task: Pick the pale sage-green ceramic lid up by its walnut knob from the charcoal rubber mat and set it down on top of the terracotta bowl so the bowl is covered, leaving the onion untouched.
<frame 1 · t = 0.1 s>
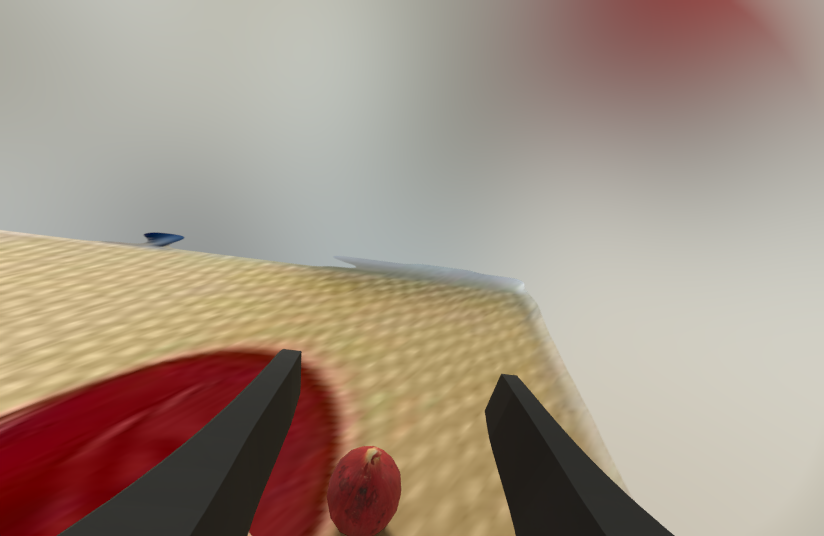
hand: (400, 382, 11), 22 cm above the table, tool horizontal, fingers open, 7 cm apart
onion: (359, 517, 25), on the table
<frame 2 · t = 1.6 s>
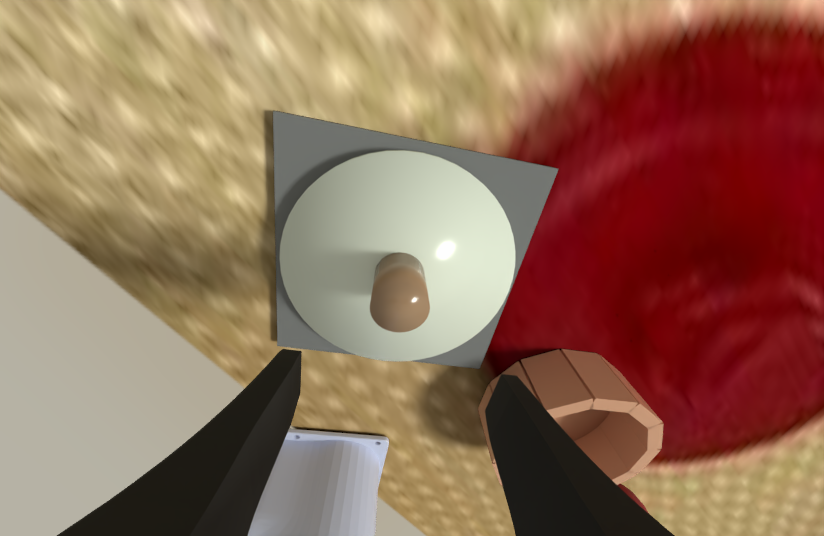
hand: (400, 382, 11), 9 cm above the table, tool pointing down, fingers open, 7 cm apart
mat: (399, 265, 19), on the table
lid: (399, 268, 19), resting on mat
bowl: (549, 403, 26), on the table
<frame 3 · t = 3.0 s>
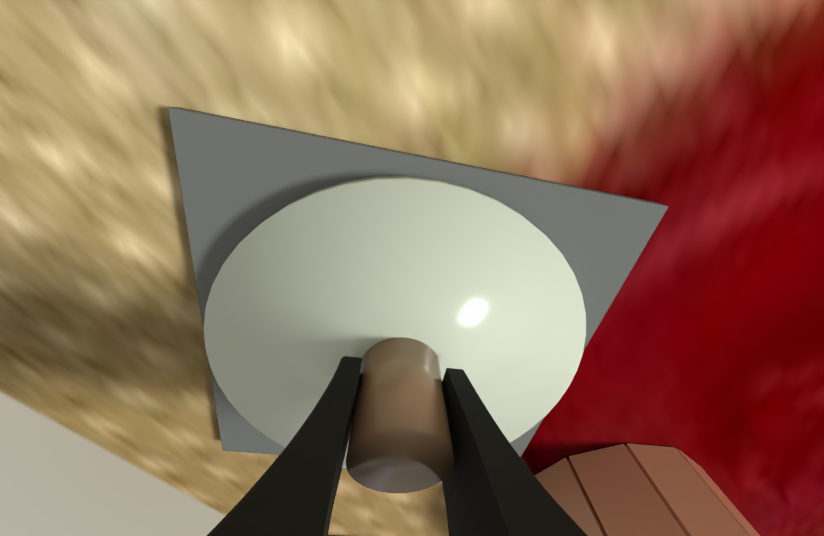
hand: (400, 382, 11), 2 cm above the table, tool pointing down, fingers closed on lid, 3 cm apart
mat: (400, 344, 13), on the table
lid: (400, 353, 12), resting on mat, touching gripper
bowl: (600, 502, 19), on the table
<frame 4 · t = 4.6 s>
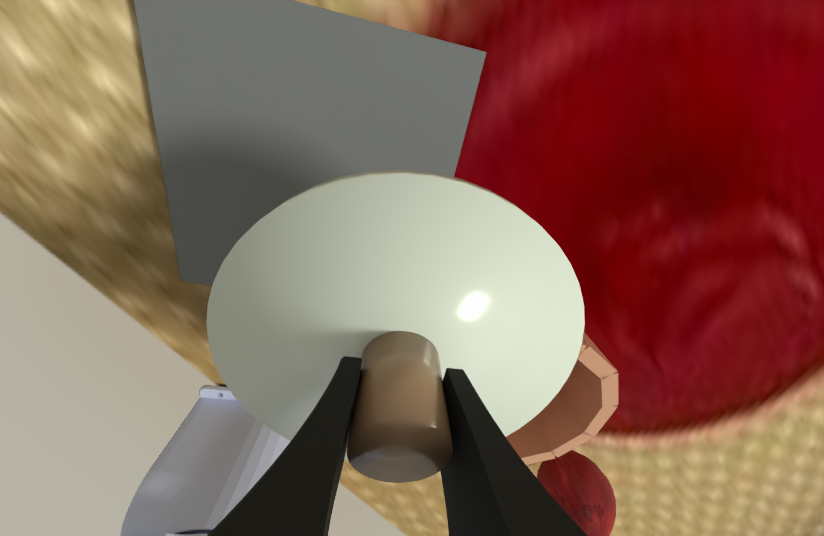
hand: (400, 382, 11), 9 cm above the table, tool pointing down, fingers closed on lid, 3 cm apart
onion: (553, 446, 29), on the table
mat: (313, 181, 16), on the table
lid: (400, 346, 12), point 8 cm above the table, touching gripper
bowl: (501, 361, 23), on the table
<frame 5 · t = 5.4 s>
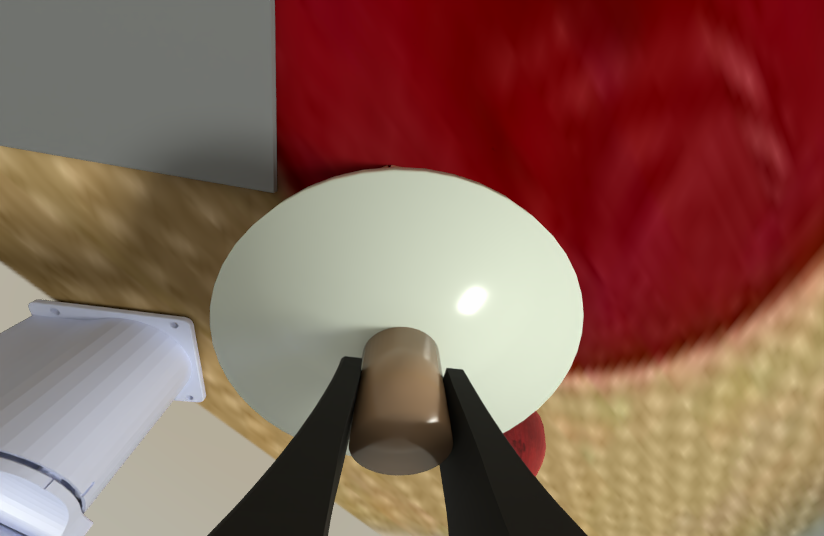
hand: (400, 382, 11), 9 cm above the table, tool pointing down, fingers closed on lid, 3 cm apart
onion: (486, 387, 25), on the table
lid: (400, 342, 12), point 7 cm above the table, touching gripper
when the fingers open (7 cm above the table, at t = 6.1 s): lid stays where it is, resting on bowl.
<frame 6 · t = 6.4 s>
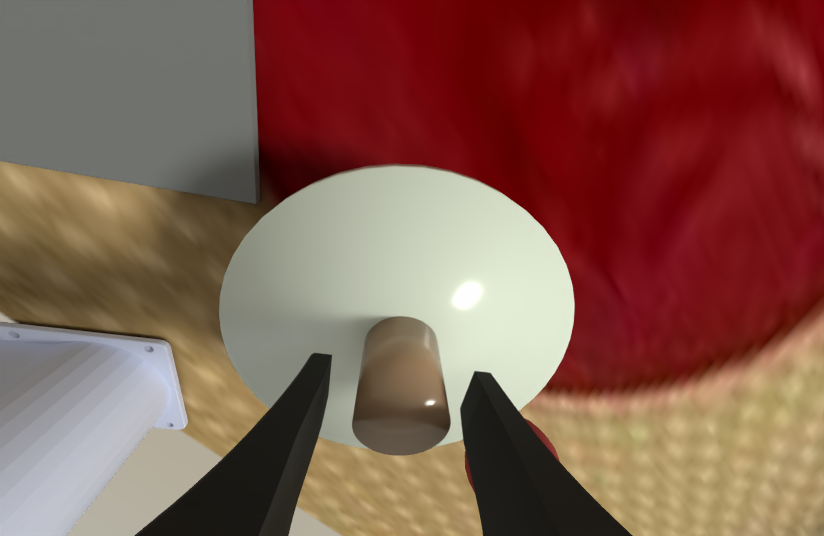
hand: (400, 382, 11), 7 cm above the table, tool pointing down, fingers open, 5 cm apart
onion: (494, 411, 23), on the table
lid: (401, 333, 13), point 4 cm above the table, touching bowl
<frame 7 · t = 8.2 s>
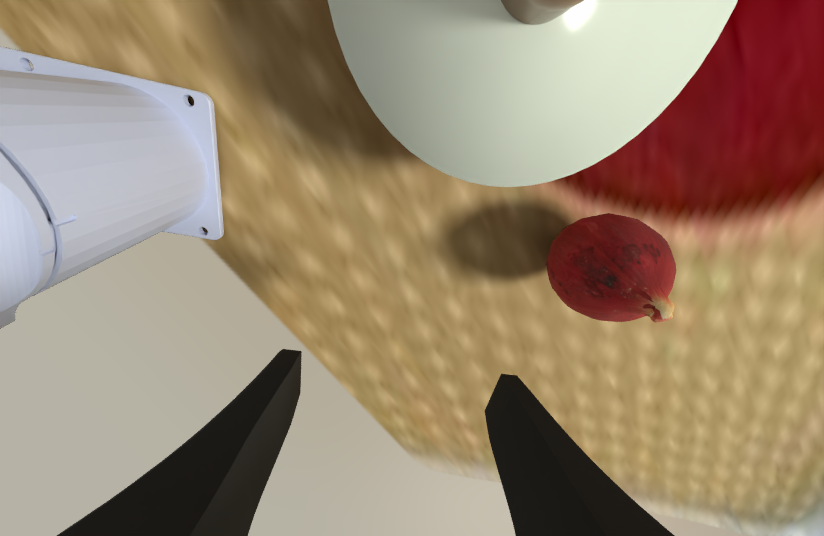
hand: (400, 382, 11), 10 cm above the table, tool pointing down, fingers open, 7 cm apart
onion: (568, 240, 20), on the table
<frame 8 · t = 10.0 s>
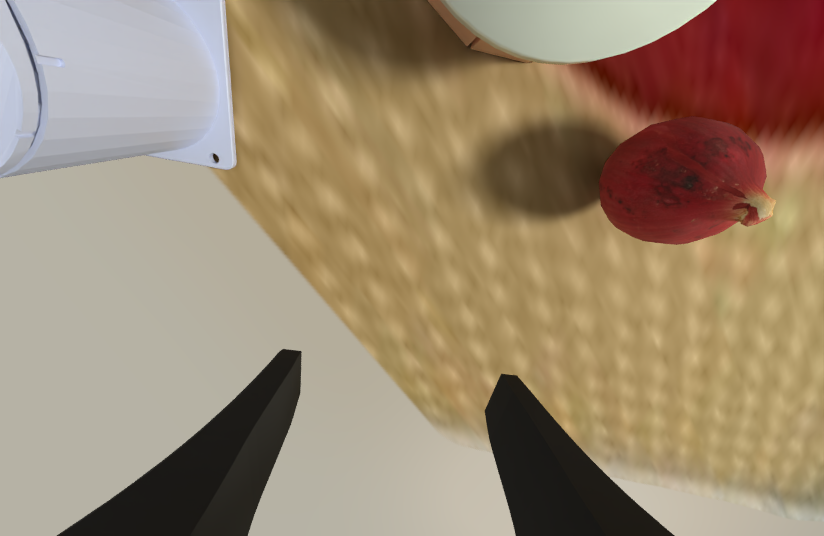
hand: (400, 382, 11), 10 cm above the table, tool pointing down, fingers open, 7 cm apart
onion: (617, 170, 18), on the table
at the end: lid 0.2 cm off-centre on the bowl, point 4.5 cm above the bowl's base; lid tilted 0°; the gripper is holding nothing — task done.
